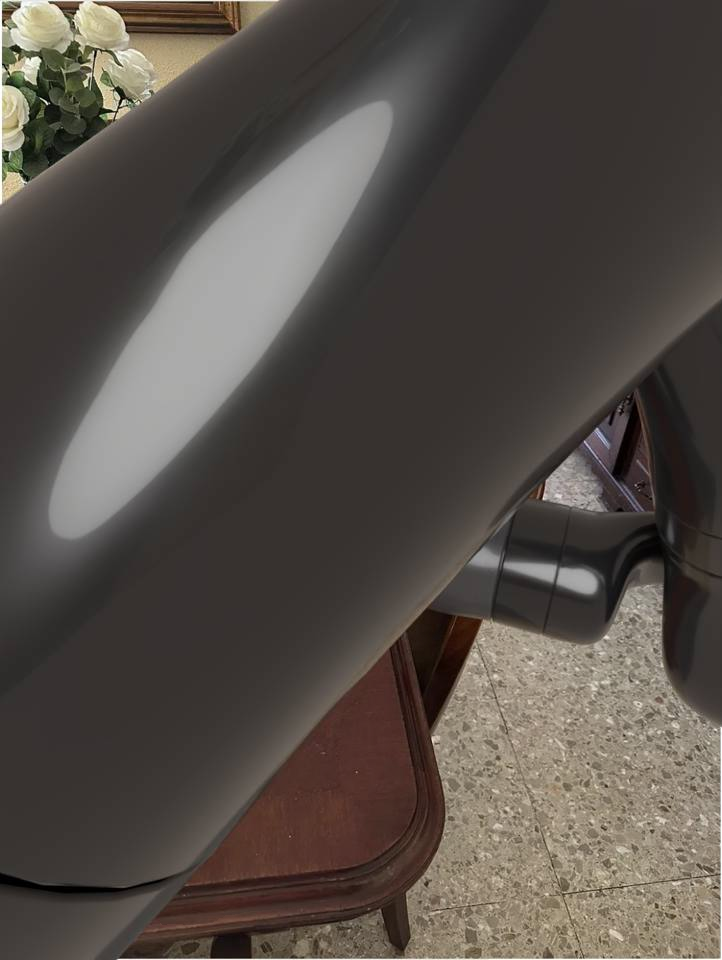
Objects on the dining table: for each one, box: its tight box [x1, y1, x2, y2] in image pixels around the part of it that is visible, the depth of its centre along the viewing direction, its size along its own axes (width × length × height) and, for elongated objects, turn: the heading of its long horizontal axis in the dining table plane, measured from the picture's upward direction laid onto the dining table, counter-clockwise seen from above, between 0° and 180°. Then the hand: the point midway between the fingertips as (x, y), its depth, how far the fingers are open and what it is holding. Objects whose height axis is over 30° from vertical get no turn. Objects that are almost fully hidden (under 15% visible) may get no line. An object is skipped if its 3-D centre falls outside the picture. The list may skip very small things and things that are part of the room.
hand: (175, 475), depth 42 cm, fingers closed on syrup box, 7 cm apart
